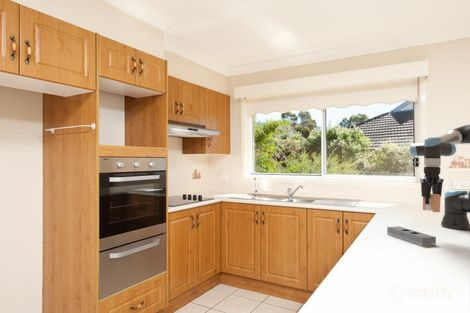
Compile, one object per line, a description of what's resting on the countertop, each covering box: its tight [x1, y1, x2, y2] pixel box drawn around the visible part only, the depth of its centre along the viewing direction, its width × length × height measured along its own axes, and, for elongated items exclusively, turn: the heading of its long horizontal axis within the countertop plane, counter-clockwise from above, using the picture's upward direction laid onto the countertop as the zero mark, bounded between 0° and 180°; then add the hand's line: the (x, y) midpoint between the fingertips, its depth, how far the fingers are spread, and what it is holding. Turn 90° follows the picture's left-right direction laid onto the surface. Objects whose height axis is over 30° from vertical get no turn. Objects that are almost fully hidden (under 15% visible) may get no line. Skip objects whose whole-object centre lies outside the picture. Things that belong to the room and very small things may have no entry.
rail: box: [387, 226, 437, 247], centre depth 163 cm, size 8×24×4 cm, turn 13°
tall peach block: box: [422, 193, 441, 213], centre depth 164 cm, size 3×8×9 cm, turn 14°
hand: (431, 210), depth 164 cm, fingers closed on tall peach block, 3 cm apart
